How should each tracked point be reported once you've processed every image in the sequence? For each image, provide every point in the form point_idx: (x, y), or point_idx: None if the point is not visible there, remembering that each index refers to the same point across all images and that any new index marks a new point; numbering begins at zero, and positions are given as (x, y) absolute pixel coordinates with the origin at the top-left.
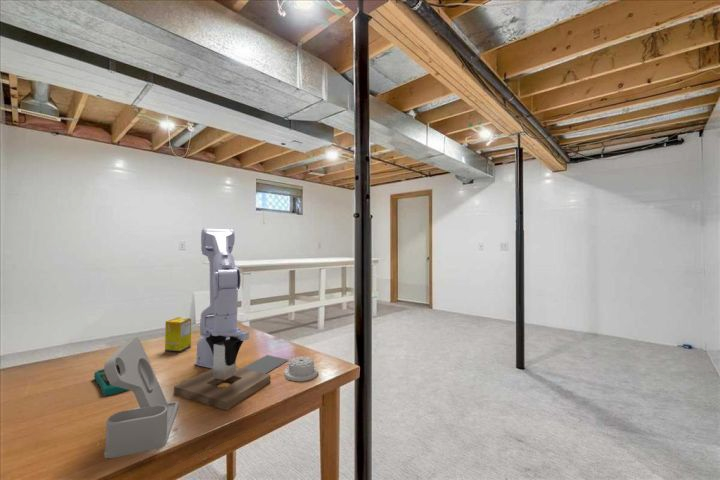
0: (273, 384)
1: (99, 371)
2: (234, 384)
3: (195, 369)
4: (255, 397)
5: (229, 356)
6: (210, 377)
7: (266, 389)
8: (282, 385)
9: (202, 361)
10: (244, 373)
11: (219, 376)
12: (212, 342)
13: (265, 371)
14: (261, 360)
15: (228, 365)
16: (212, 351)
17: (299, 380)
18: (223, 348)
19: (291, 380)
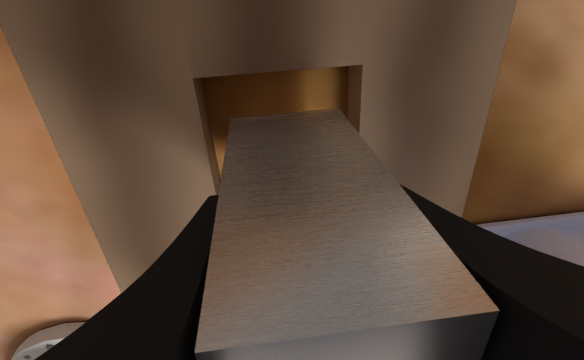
0: (101, 268)
1: None
2: (182, 145)
3: (571, 182)
4: (36, 146)
5: (165, 251)
6: (394, 131)
7: (79, 225)
8: (58, 281)
9: (580, 234)
10: None
11: (277, 119)
12: (546, 327)
13: None
14: None
15: (217, 195)
16: (459, 224)
17: (31, 337)
18: (238, 305)
19: (67, 323)
